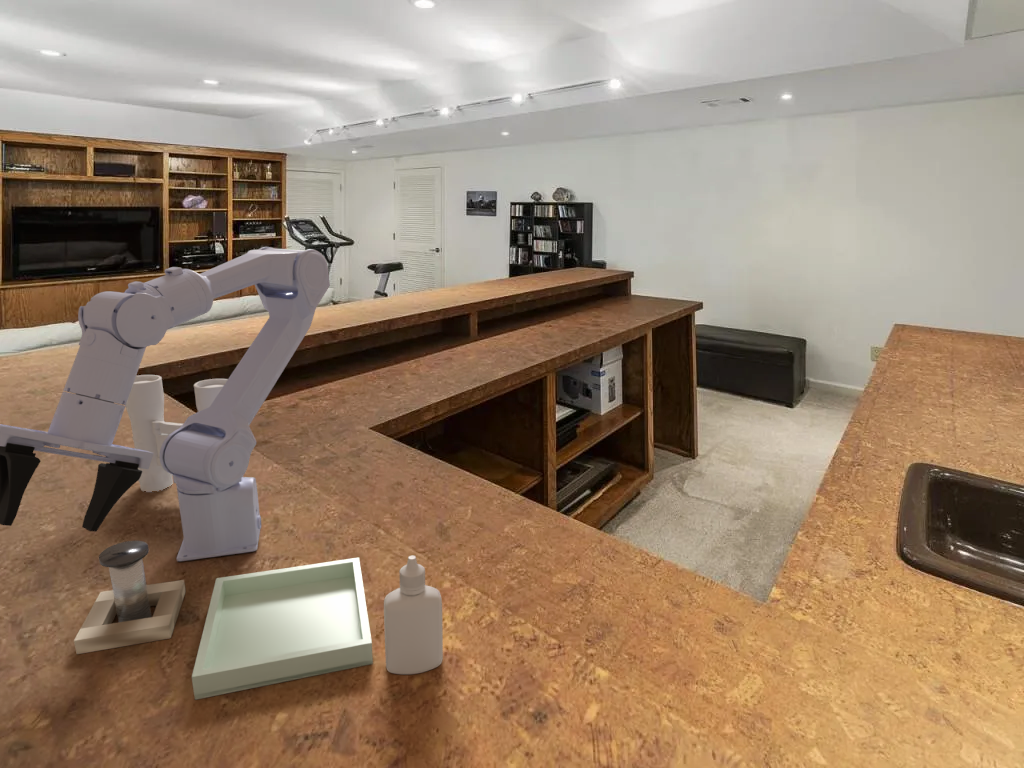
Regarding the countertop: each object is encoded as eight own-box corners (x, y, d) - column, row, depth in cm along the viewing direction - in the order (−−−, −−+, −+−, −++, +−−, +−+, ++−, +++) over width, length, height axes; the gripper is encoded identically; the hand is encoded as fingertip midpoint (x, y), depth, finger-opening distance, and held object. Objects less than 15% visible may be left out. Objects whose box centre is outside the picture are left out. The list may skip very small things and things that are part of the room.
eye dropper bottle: (398, 642, 63) (395, 541, 59) (448, 653, 61) (447, 550, 58) (378, 671, 58) (374, 564, 55) (431, 684, 57) (430, 575, 54)
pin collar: (185, 591, 70) (184, 579, 70) (170, 638, 62) (168, 625, 62) (102, 604, 67) (100, 591, 67) (76, 654, 60) (73, 640, 59)
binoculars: (129, 492, 94) (111, 382, 89) (152, 477, 100) (137, 373, 95) (232, 499, 93) (220, 388, 88) (250, 484, 98) (240, 379, 93)
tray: (359, 575, 74) (359, 557, 73) (372, 663, 59) (371, 642, 59) (218, 597, 69) (216, 578, 68) (194, 699, 55) (191, 677, 54)
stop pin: (162, 604, 68) (152, 538, 65) (153, 629, 63) (142, 559, 61) (118, 611, 66) (106, 543, 64) (105, 637, 62) (92, 566, 60)
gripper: (29, 383, 55) (-28, 529, 53) (180, 418, 67) (139, 539, 64) (2, 377, 59) (-52, 513, 57) (149, 412, 71) (110, 526, 68)
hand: (48, 526), depth 61 cm, fingers open, 7 cm apart
